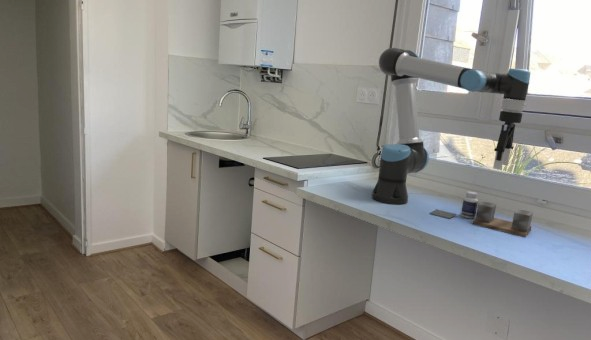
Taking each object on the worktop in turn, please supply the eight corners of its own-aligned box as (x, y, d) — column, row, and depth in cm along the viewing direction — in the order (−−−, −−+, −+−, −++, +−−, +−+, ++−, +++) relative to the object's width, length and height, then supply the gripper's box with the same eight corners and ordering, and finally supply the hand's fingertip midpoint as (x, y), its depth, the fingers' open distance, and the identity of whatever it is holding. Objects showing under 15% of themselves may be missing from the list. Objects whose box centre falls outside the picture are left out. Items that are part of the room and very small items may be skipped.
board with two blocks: (472, 224, 162) (475, 205, 161) (480, 217, 172) (483, 199, 170) (525, 237, 152) (529, 217, 150) (531, 229, 162) (534, 210, 160)
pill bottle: (476, 219, 169) (480, 195, 167) (461, 217, 170) (465, 193, 168) (473, 215, 174) (477, 191, 172) (459, 213, 175) (463, 190, 173)
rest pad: (429, 214, 170) (429, 213, 170) (436, 210, 177) (436, 209, 177) (449, 219, 166) (449, 218, 166) (456, 215, 172) (456, 214, 172)
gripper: (517, 113, 150) (505, 173, 155) (527, 112, 171) (516, 165, 175) (494, 110, 154) (483, 168, 159) (506, 109, 175) (496, 161, 179)
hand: (500, 166), depth 167 cm, fingers open, 13 cm apart
